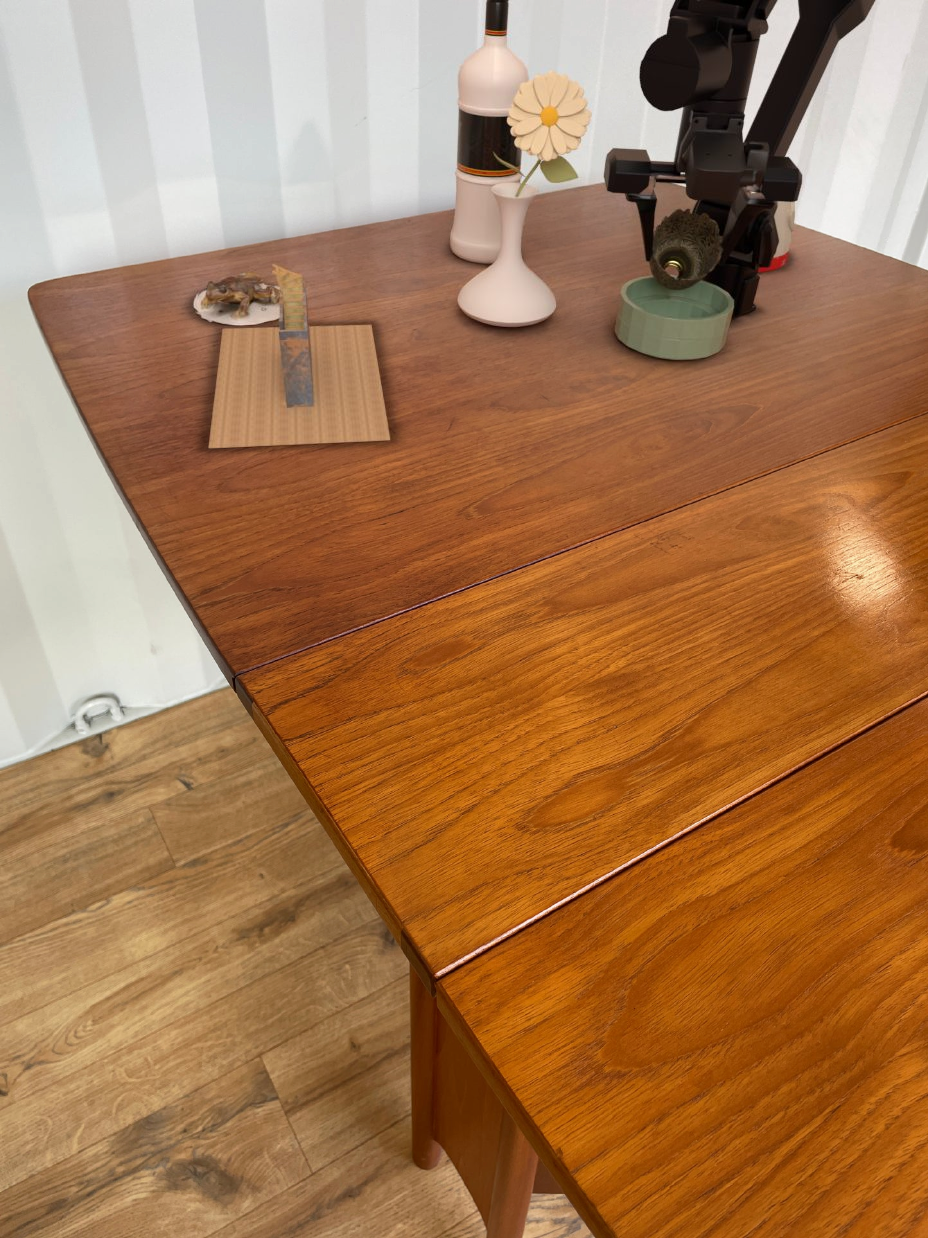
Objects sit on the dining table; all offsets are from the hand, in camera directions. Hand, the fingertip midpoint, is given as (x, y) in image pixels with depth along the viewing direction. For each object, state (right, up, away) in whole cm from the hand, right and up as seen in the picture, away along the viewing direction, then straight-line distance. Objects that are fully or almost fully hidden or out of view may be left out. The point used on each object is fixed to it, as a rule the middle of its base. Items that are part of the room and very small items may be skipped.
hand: (683, 262), depth 94 cm
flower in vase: (-18, -3, +9) cm, 20 cm away
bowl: (0, -6, +6) cm, 9 cm away
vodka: (-21, +11, +24) cm, 33 cm away
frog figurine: (-49, -2, +9) cm, 50 cm away
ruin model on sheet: (-40, -14, -4) cm, 42 cm away
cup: (0, +1, +7) cm, 7 cm away
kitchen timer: (+14, +12, +27) cm, 33 cm away
